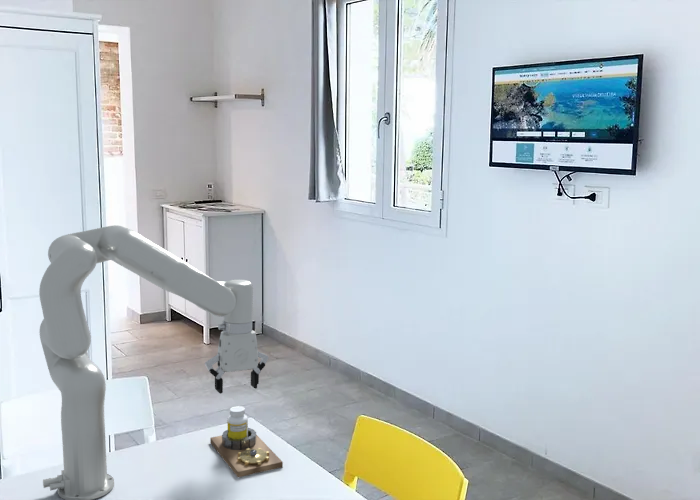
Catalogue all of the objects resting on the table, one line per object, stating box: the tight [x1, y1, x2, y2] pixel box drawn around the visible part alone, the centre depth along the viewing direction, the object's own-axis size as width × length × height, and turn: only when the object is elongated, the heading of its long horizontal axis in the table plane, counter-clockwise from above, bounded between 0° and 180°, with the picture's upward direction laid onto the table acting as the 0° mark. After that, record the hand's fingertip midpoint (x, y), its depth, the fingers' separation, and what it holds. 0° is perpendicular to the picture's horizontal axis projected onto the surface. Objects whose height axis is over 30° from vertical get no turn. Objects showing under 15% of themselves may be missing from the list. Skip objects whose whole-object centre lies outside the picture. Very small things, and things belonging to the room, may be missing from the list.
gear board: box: [210, 434, 284, 478], centre depth 188 cm, size 12×22×2 cm, turn 29°
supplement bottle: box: [226, 405, 249, 439], centre depth 191 cm, size 5×5×10 cm
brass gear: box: [237, 448, 269, 466], centre depth 182 cm, size 8×8×2 cm
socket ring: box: [221, 427, 257, 450], centre depth 191 cm, size 9×9×2 cm
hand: (236, 389), depth 189 cm, fingers open, 9 cm apart
